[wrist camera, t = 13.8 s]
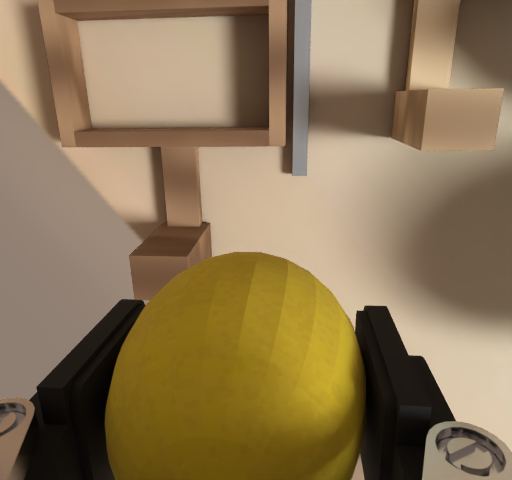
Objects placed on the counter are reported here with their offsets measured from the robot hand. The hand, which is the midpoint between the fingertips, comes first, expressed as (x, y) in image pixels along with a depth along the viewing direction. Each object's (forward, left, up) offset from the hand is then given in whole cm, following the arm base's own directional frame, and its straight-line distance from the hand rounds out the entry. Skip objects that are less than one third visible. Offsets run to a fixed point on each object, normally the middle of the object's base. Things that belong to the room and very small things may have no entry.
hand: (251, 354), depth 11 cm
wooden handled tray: (+4, +7, -20) cm, 21 cm away
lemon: (0, 0, -3) cm, 3 cm away
